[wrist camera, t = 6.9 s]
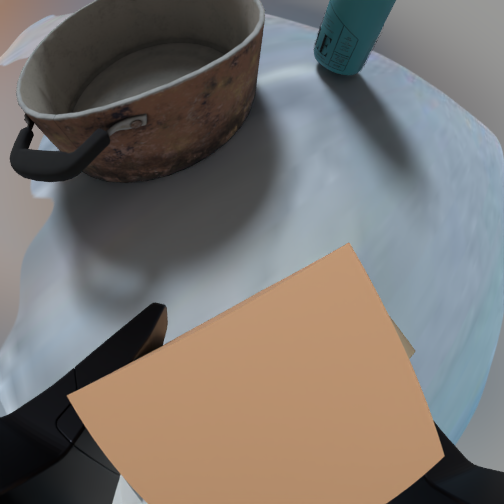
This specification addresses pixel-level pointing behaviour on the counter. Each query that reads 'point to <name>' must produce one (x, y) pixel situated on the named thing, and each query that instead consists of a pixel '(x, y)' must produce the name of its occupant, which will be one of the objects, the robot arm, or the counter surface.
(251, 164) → the counter surface
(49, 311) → the counter surface
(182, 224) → the counter surface
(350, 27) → the beverage bottle
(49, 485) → the robot arm
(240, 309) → the block
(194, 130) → the cooking pot
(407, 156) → the counter surface
